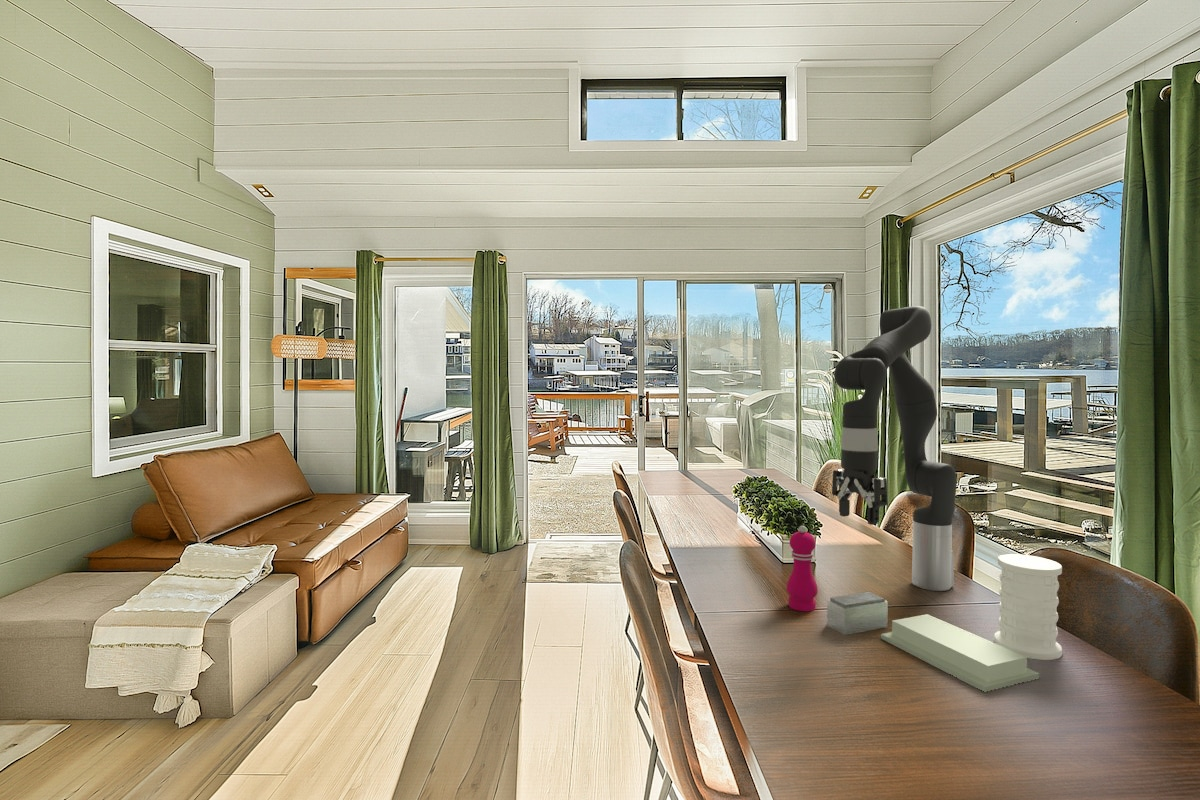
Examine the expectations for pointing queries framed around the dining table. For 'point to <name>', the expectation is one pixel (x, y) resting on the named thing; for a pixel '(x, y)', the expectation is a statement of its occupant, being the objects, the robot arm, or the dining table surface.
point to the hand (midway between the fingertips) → (858, 519)
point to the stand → (960, 652)
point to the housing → (857, 613)
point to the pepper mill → (802, 572)
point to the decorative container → (1029, 606)
